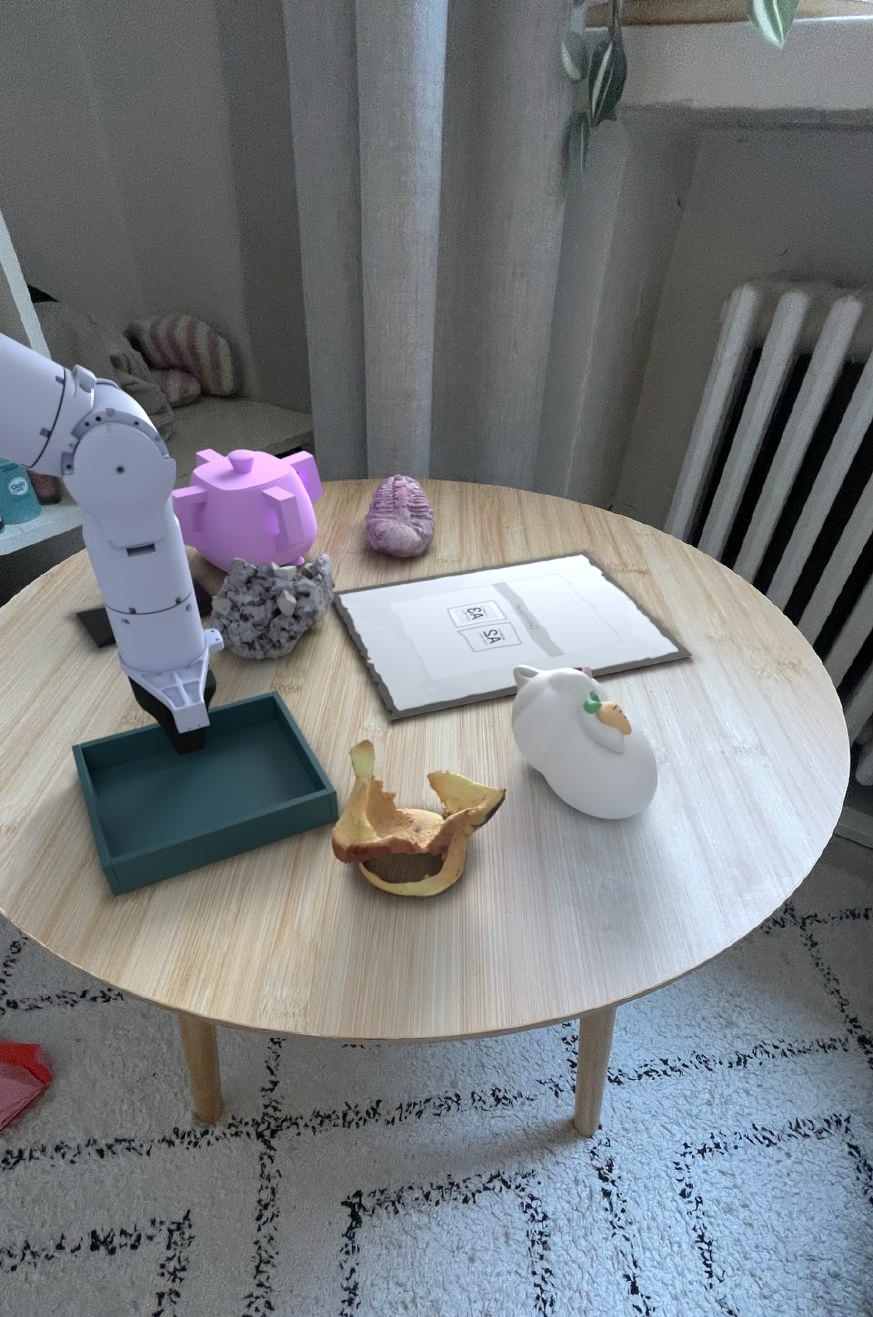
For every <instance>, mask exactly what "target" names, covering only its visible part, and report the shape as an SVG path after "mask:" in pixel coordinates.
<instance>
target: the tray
mask: <svg viewBox="0 0 873 1317" xmlns="http://www.w3.org/2000/svg"><path fill="white" fill-rule="evenodd" d="M207 715H208V719H209V723H210V725H208V726H207V731H206V744H205V748H204V749H201V750H198V751H194V752H191V753H188V754H184V755H179V754H178V753H177V752H176V751H175V749H174V748H173V746H172V745H171V743H170V741H169V739H168V737H167V735H166V734H165V732H164V730H163V728H162V727H161V725H160V724H159V723H158V722H155V723H152V724H147V725H144V726H140V727H137V728H132V729H129V730H125V731H121V732H118V733H114V734H111V735H106V736H104V737H99V738H95V739H91V740H89V741H85V742H81V743H77V744H74V745H71V750H72V755H73V759H74V764H75V767H76V771H77V775H78V779H79V784H80V787H81V791H82V795H83V800H84V803H85V807H86V811H87V815H88V819H89V823H90V827H91V831H92V835H93V839H94V843H95V848H96V852H97V856H98V860H99V864H100V867H101V871H102V872H103V875H104V877H105V880H106V882H107V884H108V886H109V888H110V891H111V893H112V895H113V897H116V896H120V895H122V894H125V893H128V892H131V891H133V890H137V889H139V888H143V887H146V886H149V885H151V884H155V883H157V882H160V881H164V880H167V879H169V878H172V877H175V876H178V875H181V874H184V873H187V872H189V871H192V870H196V869H198V868H202V867H204V866H208V865H210V864H213V863H216V862H219V861H222V860H225V859H228V858H232V857H233V856H237V855H239V854H243V853H246V852H248V851H252V850H254V849H257V848H260V847H263V846H267V845H269V844H271V843H275V842H279V841H280V840H281V841H282V840H283V839H286V838H289V837H292V836H295V835H298V834H302V833H304V832H307V831H311V830H313V829H316V828H319V827H322V826H325V825H327V824H330V823H333V822H336V821H337V822H338V820H339V819H340V815H339V804H338V794H337V790H336V788H335V786H334V785H333V783H332V781H331V779H330V777H329V775H327V773H326V771H325V769H324V768H323V766H322V764H321V762H320V760H319V759H318V757H317V755H316V754H315V752H314V751H313V750H314V749H313V748H312V746H311V745H310V743H309V742H308V739H307V738H306V736H305V735H304V733H303V731H302V730H301V728H300V726H299V724H298V723H297V721H296V720H295V719H296V718H294V716H293V714H292V713H291V711H290V709H289V707H288V706H287V704H286V702H285V700H284V699H283V696H282V695H281V693H280V691H279V690H278V689H277V690H273V691H270V692H265V693H261V694H257V695H254V696H251V697H247V698H243V699H239V700H236V701H232V702H229V703H225V704H220V705H217V706H214V707H209V708H208V713H207Z"/></svg>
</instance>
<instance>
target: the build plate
mask: <svg viewBox="0 0 873 1317" xmlns="http://www.w3.org/2000/svg"><path fill="white" fill-rule="evenodd" d="M191 579H192V583H193V588H194V592H195V597H196V602H197V606H198V611H199V615H200V619H203V618H206V617H211V613H212V610H213V606H212V600H213V599H212V596H211V595H210V594H209V593H208V591H207V590H206V589H205V587H203V586H202V585H201V584H200V583H199V582H198V581H197V579H195V578H191ZM75 617H76V618H77V619H78V621H79V623H80V624H81V625H82V627H83V628H84V630H85V631H86V633H87V634H88V636H89V638H90V639H91V640H92V641H93V643H94V644H95V646H96V648H97V649H99V650H101V649H104V648H107V647H110V646H114V645H117V643H116V640H115V636H114V633H113V630H112V627H111V624H110V621H109V618H108V615H107V612H106V608H105V605H104V604H101V605H97V606H94V607H90V608H87V609H84V610H81V611H77V612H75Z"/></svg>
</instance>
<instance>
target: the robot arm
mask: <svg viewBox="0 0 873 1317" xmlns="http://www.w3.org/2000/svg"><path fill="white" fill-rule="evenodd" d="M0 458H2V459H4V460H6V461H9V462H11V463H13V464H16V465H18V466H20V467H23V468H25V469H27V470H29V471H31V472H34V473H36V474H40V475H47V476H52V477H56V478H57V477H58V478H61V479H62V481H63V484H64V486H65V489H66V490H67V491H68V493H69V495H70V496H71V497H72V499H73V500H74V501H75V502H76V503H77V506H78V509H79V513H80V516H81V518H82V527H81V528H82V529H81V532H82V534H81V535H82V539H83V542H84V544H85V548H86V551H87V554H88V557H89V560H90V563H91V567H92V570H93V573H94V576H95V580H96V582H97V586H98V589H99V591H100V595H101V598H102V602H103V605H105V608H106V612H107V615H108V618H109V621H110V624H111V627H112V630H113V633H114V636H115V640H116V643H117V644H116V646H117V649H118V651H117V659H118V662H119V666H120V668H121V670H122V671H123V673H124V674H125V675H126V676H127V679H128V682H129V684H130V687H131V691H132V693H133V695H134V696H133V697H134V699H135V701H136V703H137V704H138V706H140V708H141V710H143V711H144V712H146V713H148V714H149V715H150V716H151V717H152V718H153V719H154V720H155V721H156V723H159V724H160V725H161V727H162V728H163V730H164V732H165V734H166V735H167V737H168V739H169V741H170V743H171V745H172V746H173V748H174V749H175V751H176V752H177V753H178V754H179V755H184V754H188V753H191V752H194V751H198V750H201V749H204V748H205V744H206V731H207V726H208V725H210V723H209V719H208V715H207V713H208V709H210V704H211V702H212V699H213V698H214V696H215V694H216V693H217V690H218V689H217V688H218V681H217V677H216V676H215V673H214V671H213V669H212V668H210V656H211V655H212V654H213V653H216V652H219V651H222V650H223V649H224V648H225V646H224V643H223V639H222V637H221V635H220V633H219V631H218V630H217V629H208V628H206V629H203V624H202V619H201V618H200V615H199V611H198V606H197V602H196V597H195V592H194V588H193V583H192V579H193V578H192V575H191V569H190V564H189V561H188V556H187V552H186V547H185V544H184V543H183V538H182V534H181V529H180V524H179V521H178V519H177V517H176V516H175V514H174V512H173V499H172V495H171V493H172V491H173V490H174V487H175V484H176V480H177V465H176V460H175V459H174V458H172V457H171V456H170V452H169V450H168V447H167V445H166V443H165V440H164V439H163V438H162V436H161V434H160V433H159V432H158V430H157V429H156V427H155V426H154V424H153V423H152V421H151V419H150V418H149V416H148V415H147V413H146V411H145V410H144V408H142V406H141V405H140V404H139V403H138V402H137V401H136V400H135V399H134V398H133V397H132V396H131V395H129V394H128V393H127V392H126V391H123V390H122V389H121V388H120V387H119V386H118V385H117V384H116V383H115V382H114V381H113V380H110V379H107V378H101V377H96V376H95V374H94V373H93V372H92V371H91V370H89V369H87V368H85V367H84V366H81V365H79V364H78V363H77V364H75V365H74V366H73V369H72V370H70V369H69V368H67V367H65V366H62V365H61V364H59V363H57V362H55V361H53V360H51V359H50V358H48V357H47V356H44V355H42V354H41V353H39V352H37V351H35V350H34V349H31V348H29V347H27V346H26V345H24V344H22V343H20V342H18V341H17V340H16V339H13V338H11V337H9V336H7V335H6V334H4V333H2V332H0Z"/></svg>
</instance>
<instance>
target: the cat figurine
mask: <svg viewBox="0 0 873 1317" xmlns="http://www.w3.org/2000/svg"><path fill="white" fill-rule="evenodd" d="M513 675H514V679H515V682H516V685H517V689H518V693H516V695H515V698H514V701H513V704H512V709H511V716H510V724H511V731H512V732H511V733H512V736H513V739H514V741H515V744H516V745H517V746H516V747H517V748H518V750H519V751H520V753H521V755H522V756H523V758H524V759H525V761H526V762H527V763H528V764H529V765H530V766H531V768H533V769H534V770H535V771H537V772H539V773H540V774H541V775H543V777H544V779H545V780H546V782H547V784H548V785H549V787H550V788H551V789H552V790H553V792H554V793H555V794H556V795H557V797H559V799H561V800H562V801H563V802H565V803H566V804H567V805H569V806H570V807H571V808H574V809H575V810H577V811H579V812H582V813H584V814H585V815H589V816H592V817H595V818H600V819H606V820H622V819H628V818H631V817H634V816H635V815H638V814H640V813H642V812H643V811H644V810H646V809H647V808H648V807H649V806H650V804H651V802H652V801H653V800H654V797H655V795H656V791H657V786H658V779H659V778H658V777H659V776H658V766H657V760H656V756H655V752H654V751H653V748H652V746H651V743H650V742H649V739H648V738H647V736H646V734H645V733H644V731H643V729H641V727H640V726H639V725H638V723H637V722H636V721H635V720H633V719H632V717H631V716H629V715H628V714H627V713H626V712H624V711H623V710H622V708H621V707H620V706H619V705H618V704H617V703H615V702H614V701H613V702H612V701H609V698H608V696H607V692H606V691H605V689H604V688H603V686H602V685H601V684H600V683H599V681H597V679H595V678H594V677H592V672H591V669H590V668H589V667H588V666H584V667H583V668H581V667H578V666H576V667H573V668H562V669H556V670H550V671H542V670H538V669H535V668H532V667H530V666H527V665H517V666H516V667H515V668H514V670H513Z"/></svg>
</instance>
